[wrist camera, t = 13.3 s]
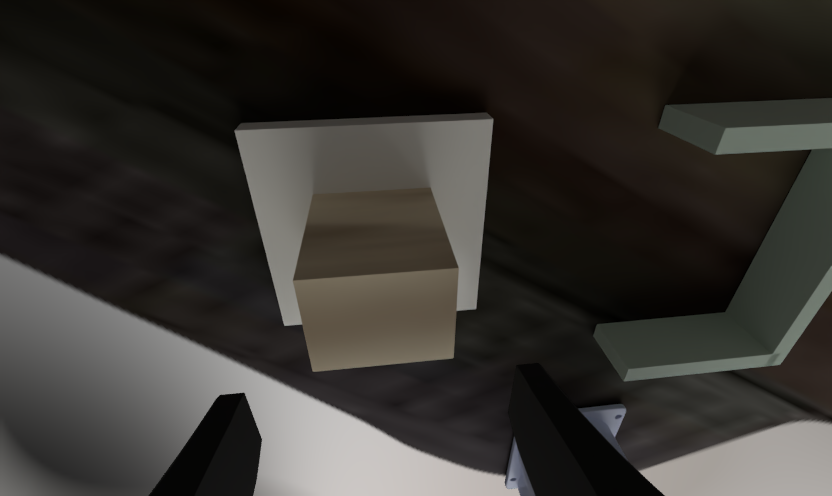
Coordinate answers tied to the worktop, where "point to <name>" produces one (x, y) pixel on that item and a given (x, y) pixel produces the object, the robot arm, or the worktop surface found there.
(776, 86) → the worktop surface
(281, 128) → the coaster
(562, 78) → the worktop surface
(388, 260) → the maple block
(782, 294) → the arch
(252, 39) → the worktop surface
